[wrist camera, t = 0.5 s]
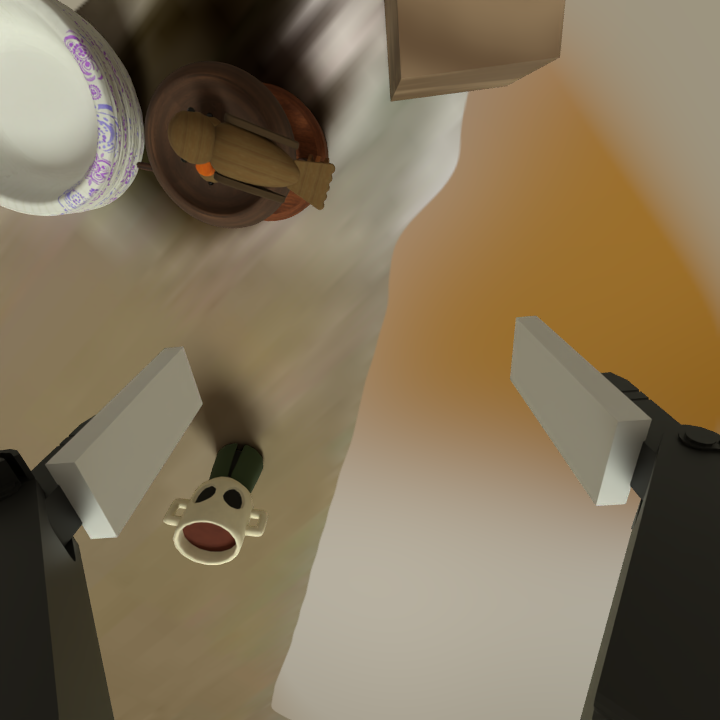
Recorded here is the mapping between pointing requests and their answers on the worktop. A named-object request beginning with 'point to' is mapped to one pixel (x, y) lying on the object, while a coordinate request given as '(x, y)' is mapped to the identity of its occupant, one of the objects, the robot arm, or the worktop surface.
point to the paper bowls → (63, 112)
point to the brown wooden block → (468, 43)
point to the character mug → (220, 509)
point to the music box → (234, 147)
